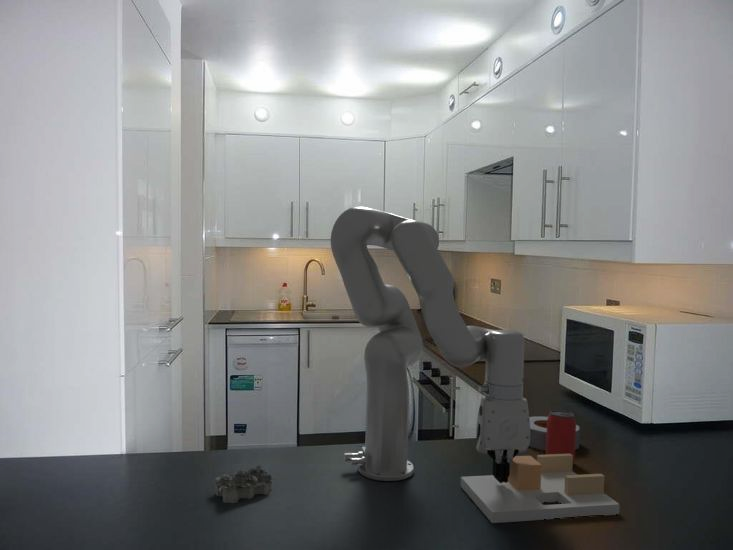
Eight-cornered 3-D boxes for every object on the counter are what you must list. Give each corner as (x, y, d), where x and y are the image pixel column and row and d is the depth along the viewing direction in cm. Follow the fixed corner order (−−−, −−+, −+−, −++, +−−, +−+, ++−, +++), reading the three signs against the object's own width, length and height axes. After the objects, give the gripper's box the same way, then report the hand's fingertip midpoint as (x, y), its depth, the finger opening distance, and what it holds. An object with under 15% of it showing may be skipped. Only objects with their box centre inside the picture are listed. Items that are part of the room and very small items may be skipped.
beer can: (576, 469, 125) (578, 418, 125) (547, 466, 126) (549, 415, 126) (571, 458, 132) (573, 410, 131) (543, 456, 133) (545, 408, 132)
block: (517, 490, 108) (518, 465, 108) (507, 479, 113) (508, 456, 113) (540, 489, 109) (541, 464, 108) (529, 479, 114) (530, 455, 113)
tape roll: (512, 432, 152) (513, 414, 151) (567, 434, 151) (568, 416, 151) (527, 451, 136) (528, 432, 136) (588, 454, 136) (589, 434, 136)
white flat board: (492, 523, 98) (493, 493, 98) (458, 483, 115) (459, 458, 115) (619, 514, 103) (620, 486, 103) (568, 477, 120) (569, 453, 120)
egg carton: (224, 507, 102) (225, 486, 102) (211, 492, 108) (211, 472, 108) (276, 494, 108) (276, 474, 108) (260, 480, 114) (261, 461, 114)
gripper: (475, 396, 104) (473, 489, 105) (546, 395, 107) (543, 485, 107) (462, 387, 112) (459, 474, 112) (528, 386, 114) (526, 471, 115)
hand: (500, 479), depth 110 cm, fingers closed
